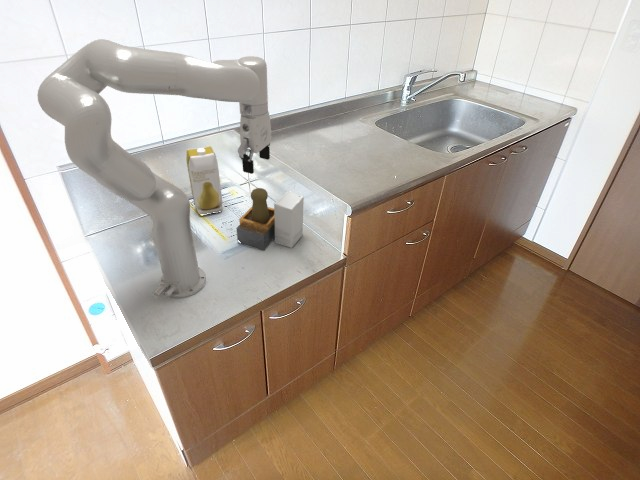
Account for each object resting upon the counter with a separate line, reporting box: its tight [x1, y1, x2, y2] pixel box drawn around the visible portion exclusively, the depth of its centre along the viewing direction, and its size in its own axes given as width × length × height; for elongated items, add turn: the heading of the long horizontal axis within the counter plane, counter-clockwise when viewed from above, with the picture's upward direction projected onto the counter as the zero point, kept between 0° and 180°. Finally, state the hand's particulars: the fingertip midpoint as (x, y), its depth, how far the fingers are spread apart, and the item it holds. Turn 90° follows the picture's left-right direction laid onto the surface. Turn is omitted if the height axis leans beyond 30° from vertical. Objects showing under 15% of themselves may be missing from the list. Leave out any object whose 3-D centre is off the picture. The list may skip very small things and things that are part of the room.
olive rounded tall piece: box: [250, 187, 270, 224], centre depth 129 cm, size 6×6×11 cm
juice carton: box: [186, 145, 223, 214], centre depth 139 cm, size 9×8×24 cm
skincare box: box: [273, 191, 305, 249], centre depth 130 cm, size 8×7×16 cm
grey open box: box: [236, 206, 275, 252], centre depth 134 cm, size 14×10×8 cm
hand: (256, 165), depth 120 cm, fingers open, 9 cm apart
